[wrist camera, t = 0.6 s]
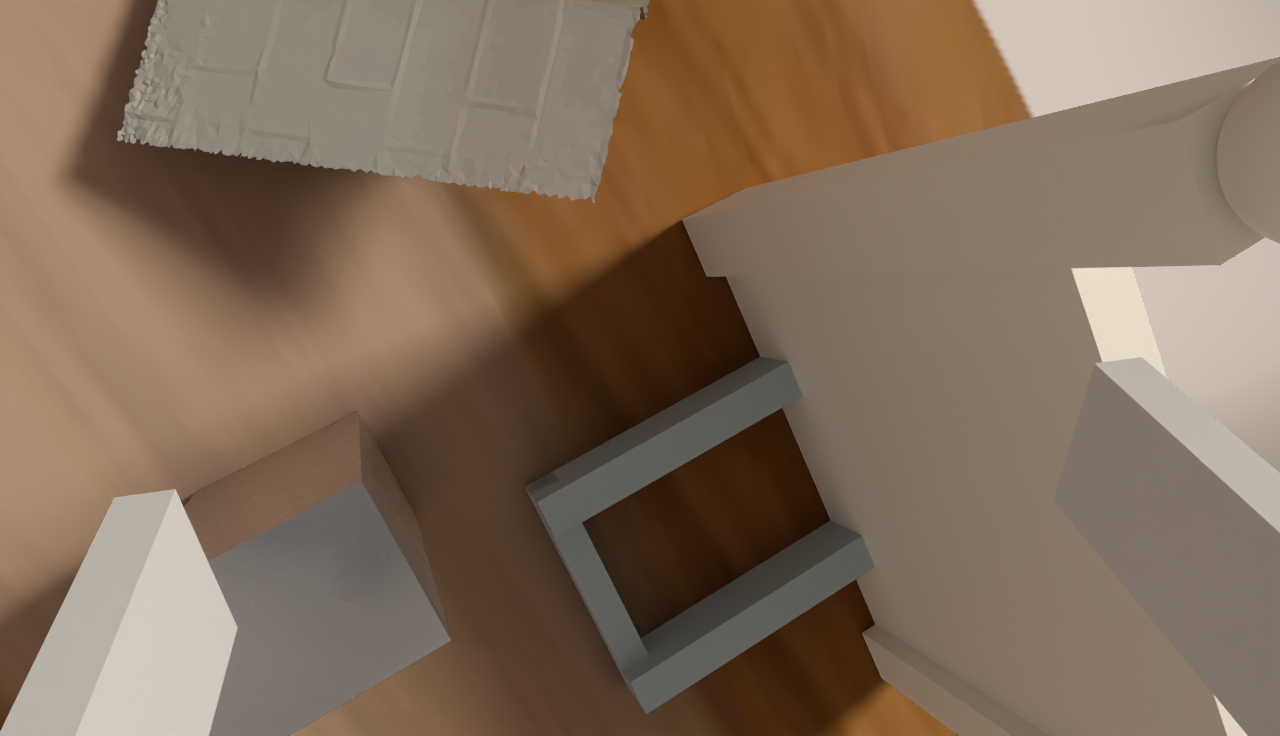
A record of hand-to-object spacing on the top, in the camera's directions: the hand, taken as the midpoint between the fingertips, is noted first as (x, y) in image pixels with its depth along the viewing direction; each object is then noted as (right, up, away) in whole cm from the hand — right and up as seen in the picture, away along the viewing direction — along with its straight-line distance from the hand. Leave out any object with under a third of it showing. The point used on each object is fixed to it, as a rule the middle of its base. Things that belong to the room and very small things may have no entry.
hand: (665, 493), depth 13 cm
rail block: (-12, -3, +18) cm, 22 cm away
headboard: (+2, -4, +23) cm, 24 cm away
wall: (-9, +15, +18) cm, 26 cm away
